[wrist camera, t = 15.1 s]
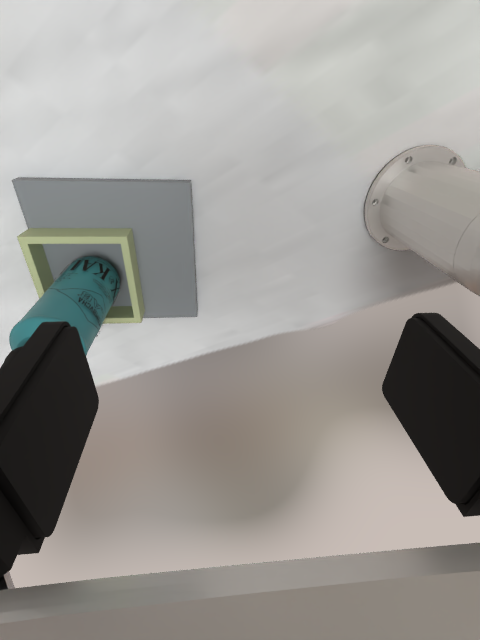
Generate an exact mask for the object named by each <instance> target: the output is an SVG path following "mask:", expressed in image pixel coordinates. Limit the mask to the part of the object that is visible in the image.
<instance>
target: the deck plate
mask: <svg viewBox="0 0 480 640" xmlns="http://www.w3.org/2000/svg"><path fill="white" fill-rule="evenodd" d="M12 182H13V185H14V188H15V191H16V194H17V197H18V200H19V203H20V206H21V209H22V212H23V215H24V218H25V221H26V224H27V227H28V230H26V231H25V232H23V233H22V234H20V235H19V236H17V238H18V241H19V243H20V246H21V249H22V252H23V254H24V257H25V260H26V263H27V265H28V268H29V271H30V274H31V276H32V279H33V282H34V285H35V288H36V290H37V293H38V296H39V299H40V298H41V297H42V296H43V294H44V293H45V292H46V291H47V289H48V288H49V287H50V286H51V285H52V283H54V282H55V281H56V280H57V279H58V278H59V276H60V275H61V274H62V273H63V272H64V271H65V270H66V269H67V268H68V267H69V266H70V264H71V263H72V262H74V261H75V260H77V259H79V258H82V257H86V256H87V257H88V256H93V257H98V258H101V259H103V260H105V261H107V262H109V263H110V264H111V265H112V266H113V267H114V268H115V269H116V271H117V273H118V275H119V279H120V281H121V282H120V288H121V289H120V288H119V291H118V292H119V293H117V295H118V296H117V295H116V297H117V298H116V297H115V299H116V300H115V299H114V301H113V302H114V303H112V305H111V307H110V309H109V311H108V313H107V315H106V317H107V318H106V317H105V320H104V322H103V323H102V324H106V323H141V322H142V319H143V318H164V317H197V293H196V274H195V254H194V234H193V215H192V195H191V180H141V179H79V178H16V179H13V180H12ZM68 264H69V265H68ZM67 265H68V266H67ZM65 268H66V269H65ZM64 269H65V270H64ZM63 270H64V271H63ZM62 271H63V272H62ZM61 272H62V273H61ZM60 273H61V274H60ZM59 274H60V275H59ZM55 278H56V279H55ZM113 304H114V305H113ZM112 306H113V307H112Z"/></svg>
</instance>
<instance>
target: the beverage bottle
mask: <svg viewBox="0 0 480 640" xmlns="http://www.w3.org/2000/svg"><path fill="white" fill-rule="evenodd" d="M68 265H69V264H68ZM68 265H67V266H68ZM65 269H66V268H65ZM65 269H64V270H65ZM64 270H63V271H64ZM63 271H62V272H63ZM62 272H61V273H62ZM61 273H60V274H61ZM60 274H59V275H60ZM55 279H56V278H55ZM120 282H121V281H120V279H119V275H118V273H117V271H116V269H115V268H114V267H113V266H112V265H111V264H110V263H109V262H107V261H105V260H103V259H101V258H98V257H93V256H88V257H87V256H86V257H82V258H79V259H77V260H75V261H74V262H72V263H71V264H70V266H69V267H68V268H67V269H66V270H65V271H64V272H63V273H62V274H61V275H60V276H59V278H58V279H57V280H56V281H55V282H54V283H52V285H51V286H50V287H49V288H48V289H47V291H46V292H45V293H44V294H43V296H42V297H41V298H40V299H39V300H38V301H37V303H36V304H35V305H34V306H33V307H32V308H31V309H30V310H29V312H28V313H27V314H26V315H25V316H24V317H23V318H22V319H21V321H19V322H18V323H17V324H16V325H15V326H14V327H13V329H12V330H11V333H10V339H9V341H10V346H11V349H12V351H11V352H10V353H9V355H8V356H7V357H6V359H5V361H4V363H3V365H2V366H1V368H0V376H1V375H2V373H3V372H4V371H5V369H6V368H7V367H8V365H9V364H10V363H11V362H12V360H13V359H14V358H15V356H16V355H17V354H18V352H19V351H20V350H21V349H22V347H23V346H24V345H25V343H26V342H27V341H28V339H29V338H30V337H31V336H32V334H33V333H34V332H35V330H36V329H37V328H38V326H39V325H40V324H41V323H42V322H57V321H66V322H68V323H69V324H70V325H71V327H73V326H74V327H76V328H77V330H78V332H79V335H80V339H81V342H82V345H83V348H84V352H85V355H87V352H88V350H89V348H90V346H91V344H92V342H93V340H94V338H95V337H96V335H97V333H98V331H99V329H100V328H101V325H102V323H103V322H104V320H105V317H106V315H107V313H108V311H109V309H110V307H111V305H112V303H114V302H113V301H114V299H115V297H116V295H117V293H119V292H118V291H119V288H120ZM120 289H121V288H120ZM117 296H118V295H117ZM116 298H117V297H116ZM115 300H116V299H115ZM113 305H114V304H113ZM112 307H113V306H112ZM106 318H107V317H106ZM97 336H98V335H97Z"/></svg>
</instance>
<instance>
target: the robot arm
mask: <svg viewBox="0 0 480 640" xmlns="http://www.w3.org/2000/svg"><path fill="white" fill-rule="evenodd" d="M405 159H406V161H405ZM373 200H374V201H373ZM372 201H373V202H372ZM364 214H365V223H366V226H367V229H368V231H369V233H370V234H371V236H372V237H373V238H374V239H375V240H376V241H377V242H378V243H379V244H381V245H382V246H384V247H386V248H389V249H392V250H412V251H414V252H415V253H416V254H418V255H419V256H421V257H422V258H424V259H425V260H427V261H428V262H429V263H431V264H432V265H434V266H435V267H437V268H438V269H440V270H441V271H442V272H444V273H445V274H447V275H448V276H450V277H451V278H453V279H454V280H456V281H457V282H458V283H460V284H461V285H463V286H465V287H466V288H467V289H469V290H470V291H472V292H474V293H475V294H477V295H479V296H480V171H476V170H471V169H467V168H466V167H465V164H464V162H463V160H462V159H461V158H460V156H459V155H458V154H456V153H455V152H454V151H453V150H450V149H448V148H446V147H442V146H437V145H424V146H419V147H415V148H412V149H410V150H407V151H405V152H404V153H402V154H400V155H399V156H397V157H395V158H394V159H393V160H392V161H391V162H390V163H388V164H387V165H386V166H385V167H384V169H383V170H382V171H381V172H380V173H379V174H378V176H377V178H376V179H375V181H374V182H373V184H372V186H371V188H370V190H369V193H368V196H367V199H366V203H365V212H364ZM382 391H383V394H384V396H385V398H386V400H387V401H388V403H389V405H390V406H391V408H392V410H393V411H394V413H395V414H396V416H397V418H398V419H399V421H400V422H401V424H402V426H403V427H404V429H405V430H406V432H407V434H408V435H409V437H410V439H411V440H412V442H413V443H414V445H415V447H416V448H417V450H418V451H419V453H420V455H421V456H422V458H423V459H424V461H425V463H426V464H427V466H428V468H429V469H430V471H431V472H432V474H433V476H434V477H435V479H436V481H437V482H438V484H439V485H440V487H441V489H442V490H443V492H444V493H445V495H446V496H447V498H448V499H449V500H450V501H451V502H452V503H455V504H456V505H457V507H458V509H459V510H460V512H461V513H462V515H463V516H464V517H465V516H478V515H480V349H479V348H478V347H476V346H475V345H474V344H473V343H472V342H471V341H470V340H469V339H467V338H466V337H465V336H464V335H463V334H462V333H461V332H459V331H458V330H457V329H456V328H455V327H454V326H453V325H451V324H450V323H449V322H448V321H447V320H446V319H445V318H443V317H442V316H441V315H440V314H438V313H417V314H414V315H413V316H412V318H410V319H408V320H407V322H406V324H405V327H404V329H403V332H402V335H401V338H400V340H399V343H398V345H397V348H396V350H395V353H394V356H393V358H392V361H391V364H390V366H389V369H388V371H387V374H386V377H385V379H384V382H383V385H382ZM98 403H99V400H98V395H97V391H96V388H95V385H94V381H93V378H92V375H91V371H90V368H89V365H88V362H87V358H86V355H85V352H84V348H83V345H82V342H81V339H80V335H79V332H78V330H77V328H76V327H74V326H73V327H71V325H70V324H69V323H68V322H66V321H57V322H42V323H41V324H40V325H39V326H38V328H37V329H36V330H35V332H34V333H33V334H32V336H31V337H30V338H29V339H28V341H27V342H26V343H25V345H24V346H23V347H22V349H21V350H20V351H19V352H18V354H17V355H16V356H15V358H14V359H13V360H12V362H11V363H10V364H9V365H8V367H7V368H6V369H5V371H4V372H3V373H2V375H1V376H0V640H480V543H471V544H459V545H448V546H437V547H426V548H414V549H402V550H392V551H381V552H370V553H359V554H348V555H338V556H328V557H316V558H305V559H295V560H284V561H274V562H263V563H252V564H242V565H232V566H222V567H212V568H201V569H191V570H181V571H171V572H162V573H150V574H140V575H130V576H120V577H110V578H100V579H91V580H83V581H75V582H66V583H58V584H49V585H41V586H32V587H23V588H14V585H13V582H12V579H11V576H10V573H9V570H11V568H12V566H13V563H14V561H15V558H16V556H17V555H20V554H32V553H39V551H40V549H41V546H42V543H43V540H44V538H45V537H49V536H50V535H51V534H52V533H53V531H54V529H55V526H56V524H57V521H58V518H59V515H60V513H61V510H62V507H63V504H64V502H65V498H66V496H67V493H68V490H69V488H70V485H71V482H72V479H73V476H74V473H75V471H76V468H77V465H78V463H79V460H80V457H81V454H82V451H83V449H84V446H85V443H86V440H87V437H88V435H89V432H90V429H91V426H92V424H93V421H94V418H95V415H96V413H97V409H98Z"/></svg>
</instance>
